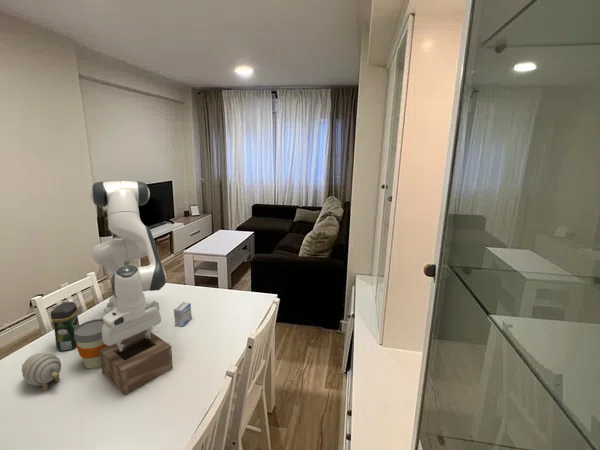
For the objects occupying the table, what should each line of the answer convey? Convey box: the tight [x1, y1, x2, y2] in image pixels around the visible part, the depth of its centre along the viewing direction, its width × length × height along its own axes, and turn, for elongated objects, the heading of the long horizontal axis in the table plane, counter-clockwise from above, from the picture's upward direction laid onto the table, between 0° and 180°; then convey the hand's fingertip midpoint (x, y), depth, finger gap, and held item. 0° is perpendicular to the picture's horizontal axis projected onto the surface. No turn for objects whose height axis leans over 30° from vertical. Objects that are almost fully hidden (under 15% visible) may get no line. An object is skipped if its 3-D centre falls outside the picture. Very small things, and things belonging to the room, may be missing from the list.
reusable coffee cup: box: [74, 318, 107, 369], centre depth 127 cm, size 13×12×15 cm
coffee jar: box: [50, 301, 80, 352], centre depth 135 cm, size 10×8×19 cm
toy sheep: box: [21, 352, 62, 391], centre depth 115 cm, size 11×17×11 cm, turn 72°
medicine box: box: [173, 301, 193, 327], centre depth 156 cm, size 8×4×9 cm, turn 168°
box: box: [99, 330, 174, 396], centre depth 122 cm, size 18×18×10 cm
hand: (135, 343), depth 121 cm, fingers open, 8 cm apart
